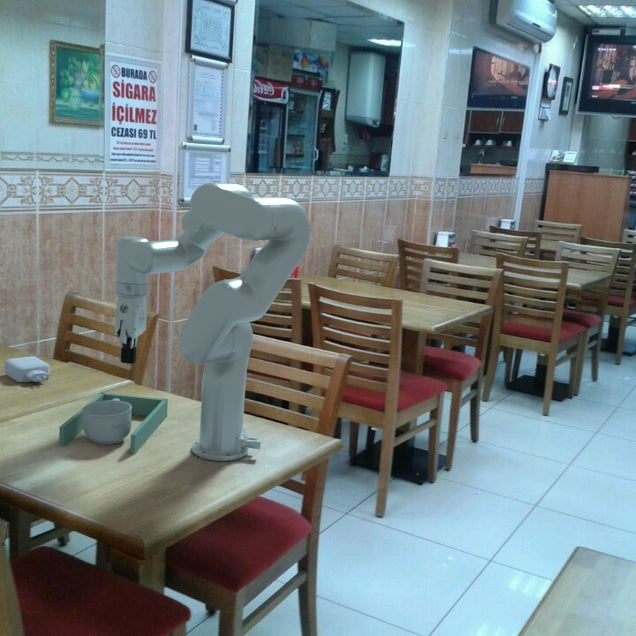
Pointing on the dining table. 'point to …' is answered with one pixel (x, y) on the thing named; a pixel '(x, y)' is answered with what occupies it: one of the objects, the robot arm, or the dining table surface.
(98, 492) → the dining table surface
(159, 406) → the green u-shaped border
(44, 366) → the charger
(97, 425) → the teacup
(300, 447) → the dining table surface
